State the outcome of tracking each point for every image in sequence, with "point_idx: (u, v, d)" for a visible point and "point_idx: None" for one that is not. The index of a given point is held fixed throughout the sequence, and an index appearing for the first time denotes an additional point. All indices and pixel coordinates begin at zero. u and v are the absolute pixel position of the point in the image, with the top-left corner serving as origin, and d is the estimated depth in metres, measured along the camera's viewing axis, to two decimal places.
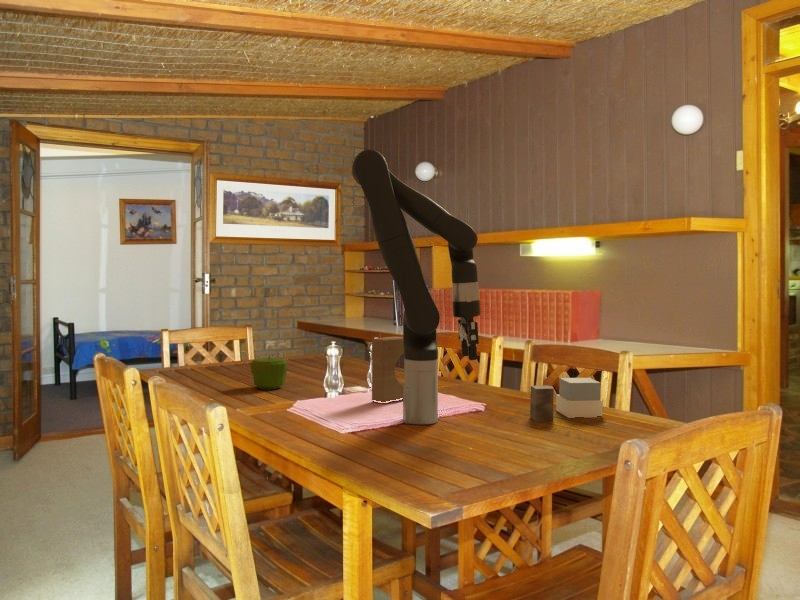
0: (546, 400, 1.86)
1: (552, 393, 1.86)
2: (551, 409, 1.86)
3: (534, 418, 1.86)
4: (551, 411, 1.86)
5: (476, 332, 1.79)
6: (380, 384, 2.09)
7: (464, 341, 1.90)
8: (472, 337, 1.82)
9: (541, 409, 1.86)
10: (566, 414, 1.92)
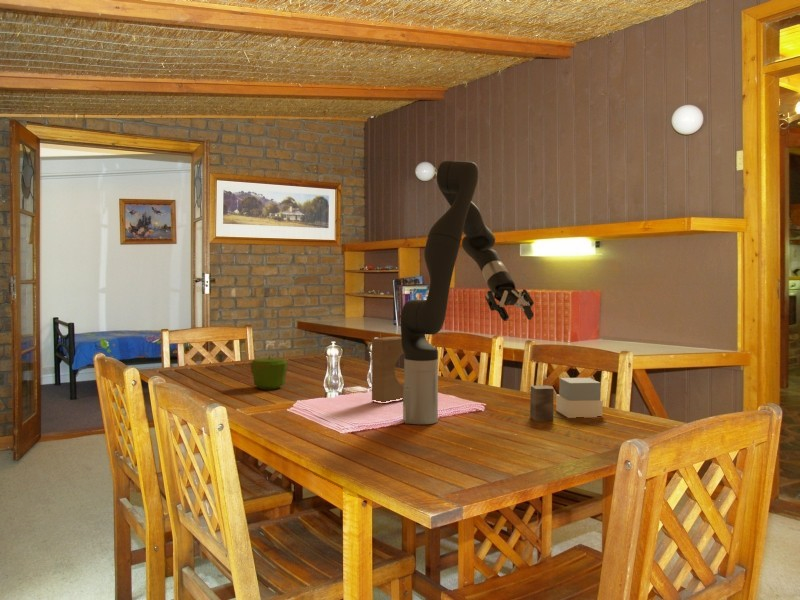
0: (546, 400, 1.86)
1: (552, 393, 1.86)
2: (551, 409, 1.86)
3: (534, 418, 1.86)
4: (551, 411, 1.86)
5: None
6: (380, 384, 2.09)
7: None
8: (521, 303, 2.04)
9: (541, 409, 1.86)
10: (566, 414, 1.92)
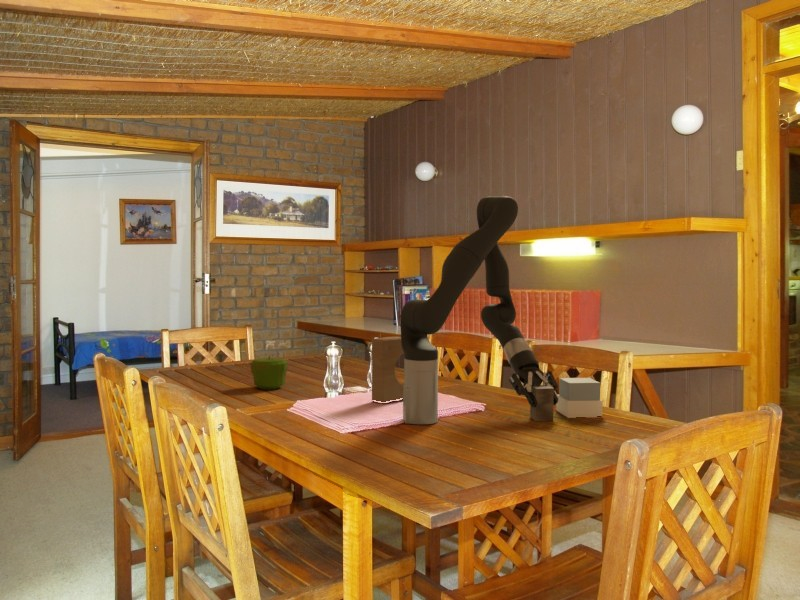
0: (546, 400, 1.86)
1: (552, 393, 1.86)
2: (551, 409, 1.86)
3: (534, 417, 1.86)
4: (551, 411, 1.86)
5: None
6: (380, 384, 2.09)
7: None
8: None
9: (541, 409, 1.86)
10: (566, 414, 1.92)
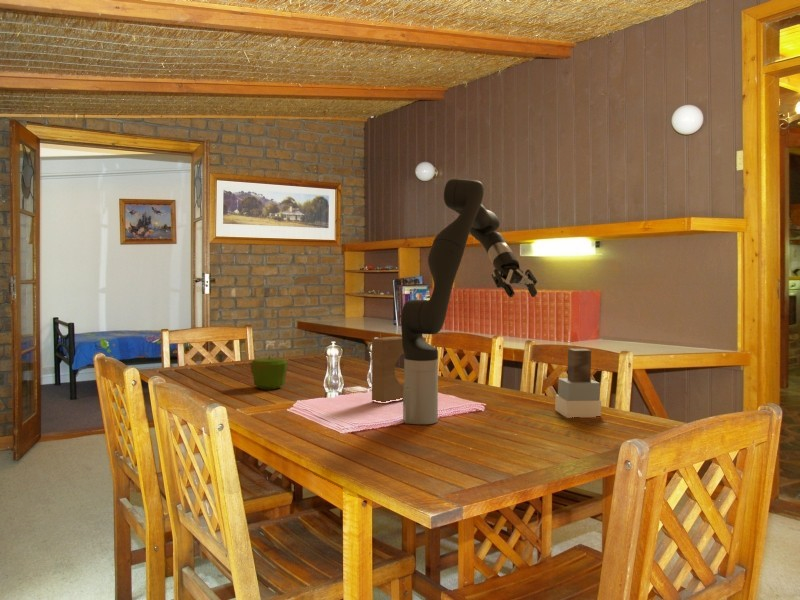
0: (583, 362, 1.93)
1: (590, 355, 1.93)
2: (589, 370, 1.93)
3: (572, 379, 1.93)
4: (589, 372, 1.93)
5: None
6: (380, 384, 2.09)
7: None
8: (525, 282, 2.16)
9: (579, 370, 1.93)
10: (565, 414, 1.92)
